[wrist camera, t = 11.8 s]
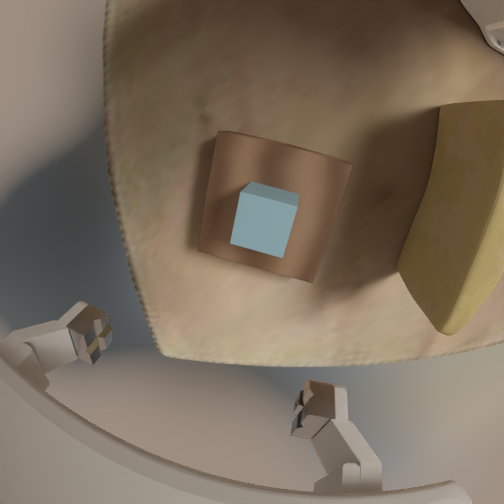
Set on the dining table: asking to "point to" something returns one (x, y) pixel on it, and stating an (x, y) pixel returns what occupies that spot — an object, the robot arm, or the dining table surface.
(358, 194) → the dining table surface
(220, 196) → the riser
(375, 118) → the dining table surface
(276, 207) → the cube
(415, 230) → the cheese
